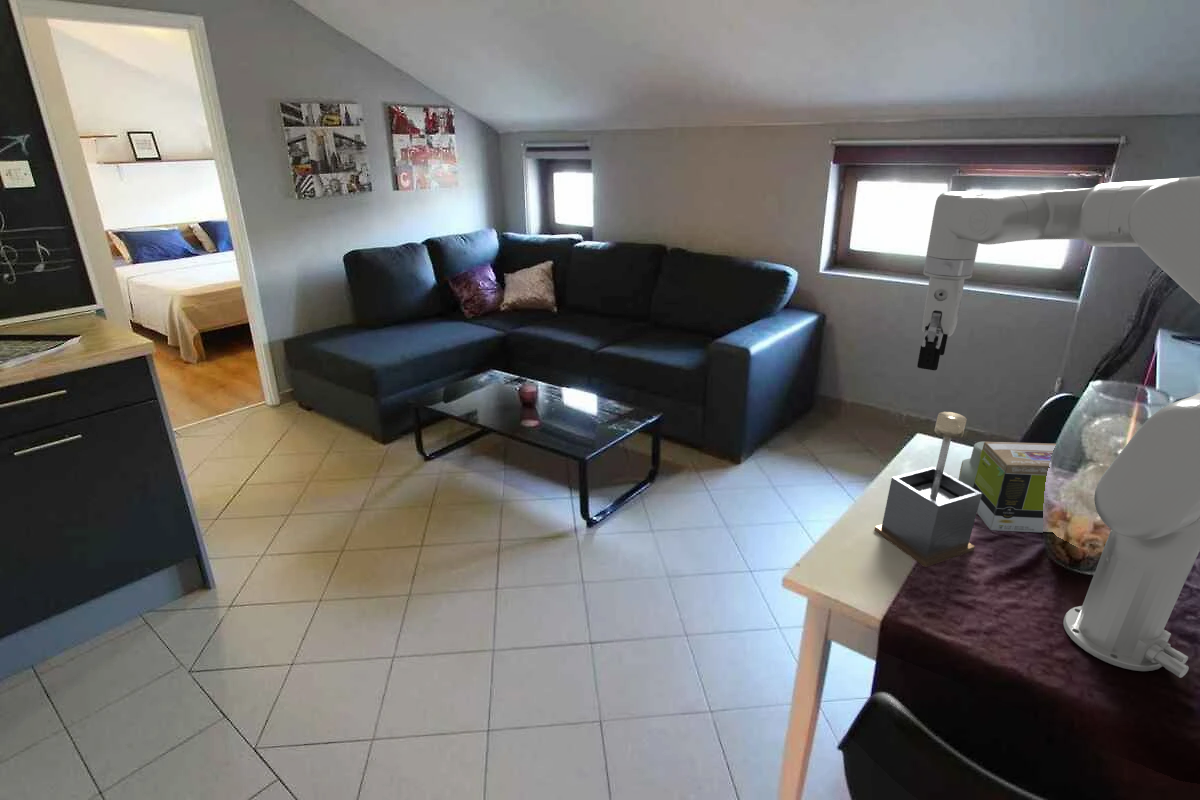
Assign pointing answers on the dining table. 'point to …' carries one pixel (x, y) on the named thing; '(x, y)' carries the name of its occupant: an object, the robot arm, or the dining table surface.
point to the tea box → (1013, 485)
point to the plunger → (943, 453)
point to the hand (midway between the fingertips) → (930, 361)
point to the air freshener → (971, 466)
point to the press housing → (929, 518)
